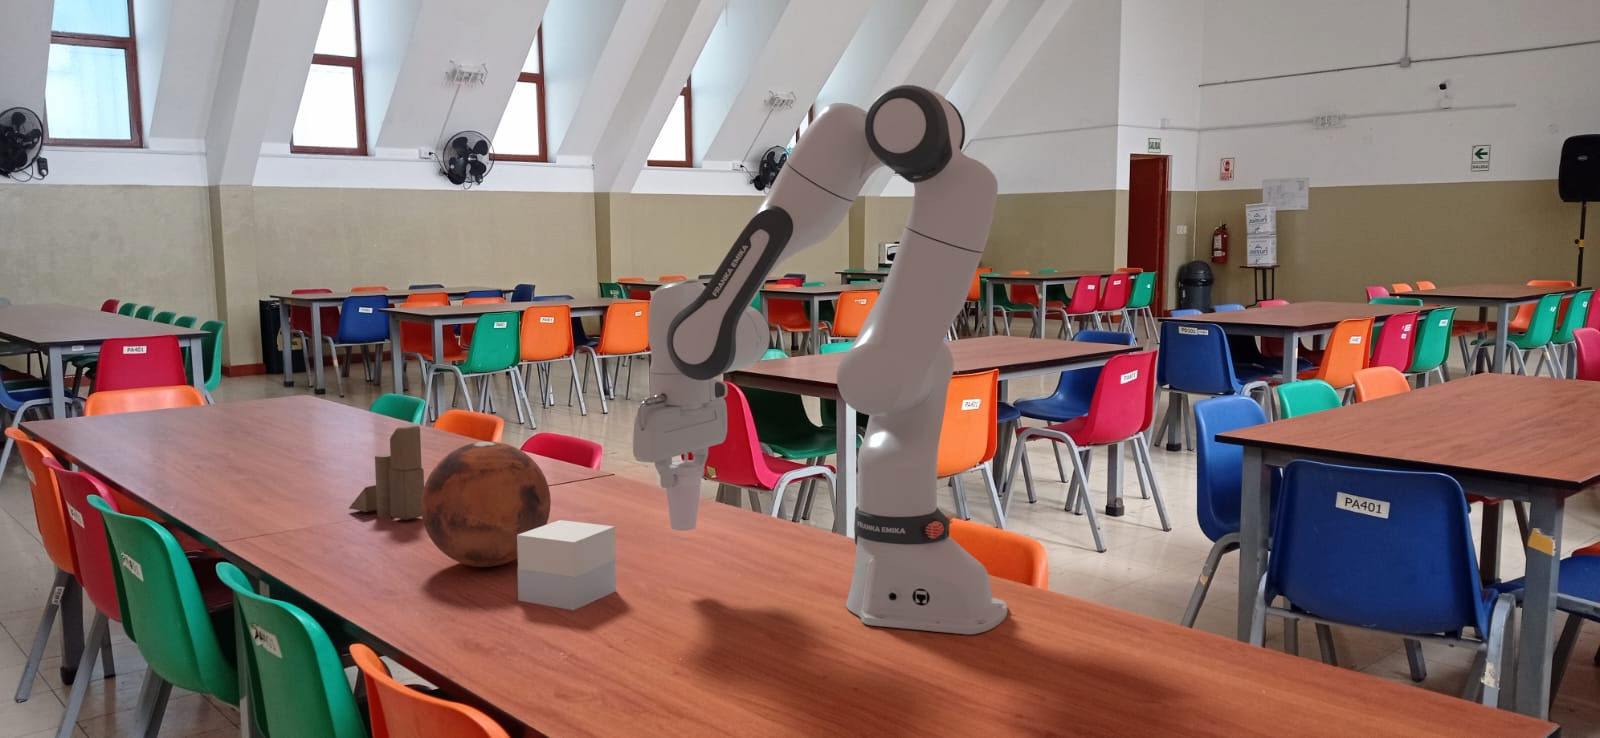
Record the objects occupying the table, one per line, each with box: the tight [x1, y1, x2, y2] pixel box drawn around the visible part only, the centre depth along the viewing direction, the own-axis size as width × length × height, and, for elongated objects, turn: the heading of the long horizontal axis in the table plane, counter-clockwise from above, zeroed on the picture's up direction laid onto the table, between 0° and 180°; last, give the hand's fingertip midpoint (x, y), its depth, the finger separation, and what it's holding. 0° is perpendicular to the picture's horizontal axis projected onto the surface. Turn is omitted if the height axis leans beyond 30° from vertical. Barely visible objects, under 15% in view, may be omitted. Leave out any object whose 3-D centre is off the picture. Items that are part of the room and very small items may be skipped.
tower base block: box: [516, 560, 617, 611], centre depth 167 cm, size 10×10×5 cm
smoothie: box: [665, 453, 705, 531], centre depth 170 cm, size 6×6×14 cm
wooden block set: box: [348, 424, 425, 521], centre depth 216 cm, size 17×6×18 cm, turn 57°
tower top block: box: [517, 519, 617, 577], centre depth 166 cm, size 10×10×5 cm
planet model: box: [421, 441, 552, 568], centre depth 182 cm, size 20×20×20 cm
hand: (682, 482), depth 170 cm, fingers closed on smoothie, 6 cm apart
